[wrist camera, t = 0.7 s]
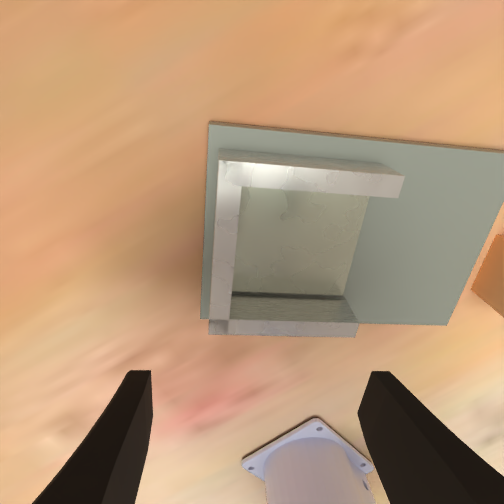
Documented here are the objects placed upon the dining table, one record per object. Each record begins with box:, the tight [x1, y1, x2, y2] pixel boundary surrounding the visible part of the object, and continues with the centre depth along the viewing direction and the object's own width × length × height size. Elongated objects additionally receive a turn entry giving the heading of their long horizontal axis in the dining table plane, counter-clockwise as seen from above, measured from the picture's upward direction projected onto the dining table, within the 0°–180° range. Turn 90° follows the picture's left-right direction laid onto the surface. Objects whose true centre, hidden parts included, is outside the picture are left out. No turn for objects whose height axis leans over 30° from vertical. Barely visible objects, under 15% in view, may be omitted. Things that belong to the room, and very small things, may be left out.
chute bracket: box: [209, 148, 405, 337], centre depth 17 cm, size 8×9×2 cm
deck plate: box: [200, 121, 504, 326], centre depth 20 cm, size 16×11×1 cm
